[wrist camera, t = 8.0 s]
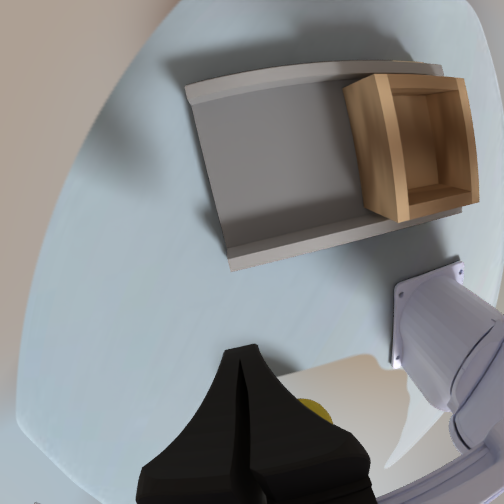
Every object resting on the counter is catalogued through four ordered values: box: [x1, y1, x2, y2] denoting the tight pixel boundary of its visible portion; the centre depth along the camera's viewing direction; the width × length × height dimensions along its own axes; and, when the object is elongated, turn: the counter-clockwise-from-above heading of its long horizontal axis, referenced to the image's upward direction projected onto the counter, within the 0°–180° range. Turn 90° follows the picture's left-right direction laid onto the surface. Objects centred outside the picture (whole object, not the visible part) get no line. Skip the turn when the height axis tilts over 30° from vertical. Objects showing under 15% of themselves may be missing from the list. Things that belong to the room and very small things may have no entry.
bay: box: [184, 60, 462, 272], centre depth 17 cm, size 12×17×3 cm
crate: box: [342, 74, 479, 223], centre depth 15 cm, size 8×8×4 cm
